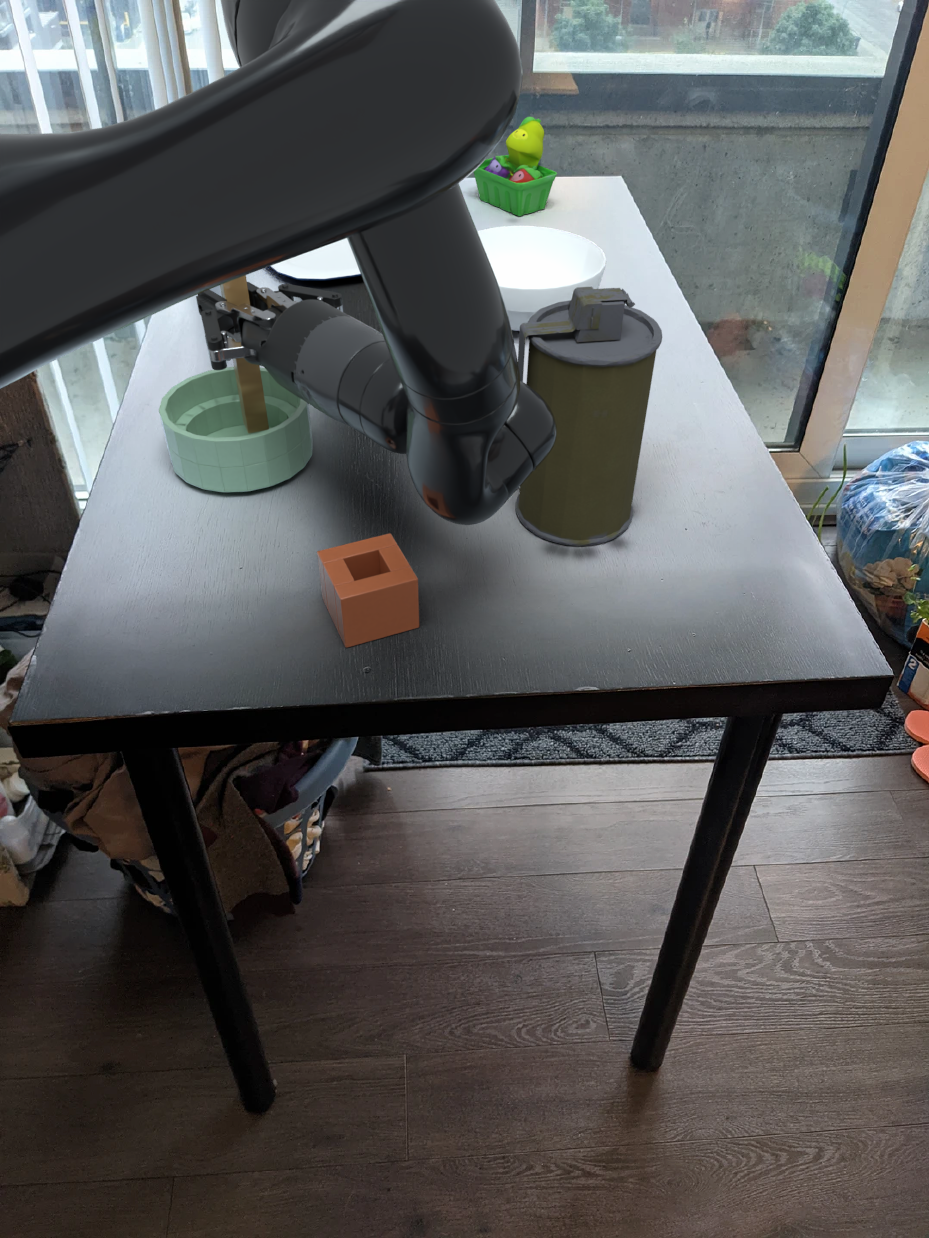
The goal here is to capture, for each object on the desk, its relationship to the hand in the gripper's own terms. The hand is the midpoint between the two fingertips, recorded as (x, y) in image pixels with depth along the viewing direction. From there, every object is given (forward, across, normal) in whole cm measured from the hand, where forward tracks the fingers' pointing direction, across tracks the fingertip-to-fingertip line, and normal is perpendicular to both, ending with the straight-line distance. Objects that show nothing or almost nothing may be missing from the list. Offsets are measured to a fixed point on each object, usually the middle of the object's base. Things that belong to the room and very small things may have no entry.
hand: (218, 294), depth 83 cm
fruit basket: (+27, -66, +15) cm, 73 cm away
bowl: (0, -40, +15) cm, 42 cm away
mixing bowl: (-3, +2, +14) cm, 15 cm away
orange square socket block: (-28, +7, +15) cm, 33 cm away
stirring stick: (-3, 0, +12) cm, 12 cm away
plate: (+31, -37, +15) cm, 51 cm away
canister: (-30, -15, +15) cm, 37 cm away
